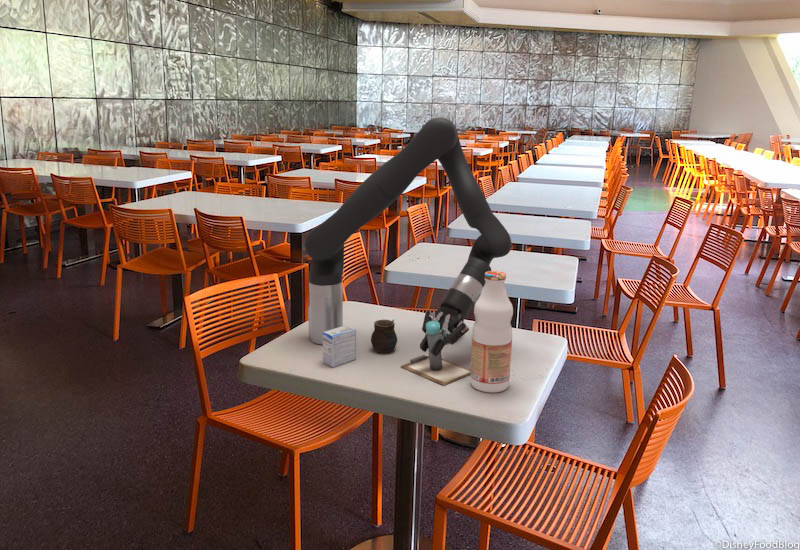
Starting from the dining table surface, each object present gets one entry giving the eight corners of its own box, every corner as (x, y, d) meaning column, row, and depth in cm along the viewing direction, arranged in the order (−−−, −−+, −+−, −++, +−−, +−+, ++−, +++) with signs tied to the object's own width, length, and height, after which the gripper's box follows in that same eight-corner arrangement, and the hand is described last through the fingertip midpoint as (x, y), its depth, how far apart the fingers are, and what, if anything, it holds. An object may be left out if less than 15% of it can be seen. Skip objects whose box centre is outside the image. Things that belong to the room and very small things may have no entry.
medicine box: (346, 355, 171) (345, 324, 169) (356, 359, 168) (356, 328, 166) (322, 363, 166) (321, 331, 164) (333, 368, 163) (332, 336, 161)
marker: (426, 368, 162) (422, 325, 157) (435, 362, 164) (431, 319, 159) (437, 372, 160) (433, 328, 155) (445, 366, 162) (442, 323, 157)
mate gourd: (382, 343, 180) (383, 309, 177) (403, 350, 175) (404, 315, 173) (365, 350, 175) (365, 315, 172) (386, 357, 170) (387, 322, 167)
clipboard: (400, 367, 164) (400, 362, 164) (432, 355, 171) (432, 351, 171) (443, 386, 153) (443, 381, 153) (474, 373, 161) (474, 368, 161)
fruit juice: (463, 387, 153) (467, 274, 146) (480, 373, 161) (485, 266, 153) (499, 397, 148) (505, 281, 141) (515, 382, 156) (522, 272, 148)
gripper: (435, 281, 165) (400, 337, 161) (477, 293, 156) (441, 353, 151) (448, 297, 170) (415, 351, 166) (489, 309, 161) (455, 368, 156)
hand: (428, 352), depth 158 cm, fingers closed on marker, 3 cm apart
